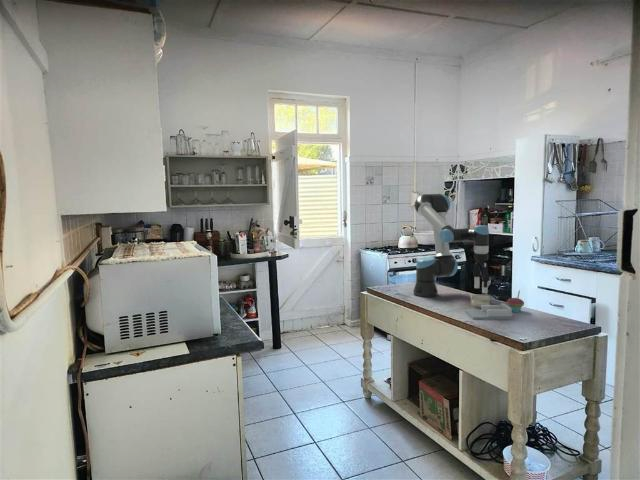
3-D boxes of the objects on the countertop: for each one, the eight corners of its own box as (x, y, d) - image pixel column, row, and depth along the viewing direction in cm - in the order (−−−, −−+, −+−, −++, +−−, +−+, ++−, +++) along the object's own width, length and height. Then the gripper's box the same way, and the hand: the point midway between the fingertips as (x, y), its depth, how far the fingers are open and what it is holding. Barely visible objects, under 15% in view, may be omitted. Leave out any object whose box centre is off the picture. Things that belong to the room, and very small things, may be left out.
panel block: (470, 304, 238) (470, 294, 238) (486, 304, 238) (486, 294, 237) (473, 307, 233) (473, 296, 233) (489, 307, 233) (489, 296, 232)
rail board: (464, 311, 223) (465, 302, 223) (503, 311, 222) (503, 302, 222) (472, 319, 209) (473, 309, 209) (513, 319, 208) (514, 309, 208)
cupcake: (524, 310, 225) (525, 288, 224) (523, 313, 218) (523, 291, 217) (507, 308, 230) (507, 286, 228) (505, 311, 222) (505, 289, 221)
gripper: (467, 250, 245) (467, 286, 247) (481, 255, 220) (481, 295, 222) (480, 250, 245) (480, 286, 246) (496, 255, 220) (495, 295, 222)
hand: (480, 290), depth 234 cm, fingers open, 13 cm apart
